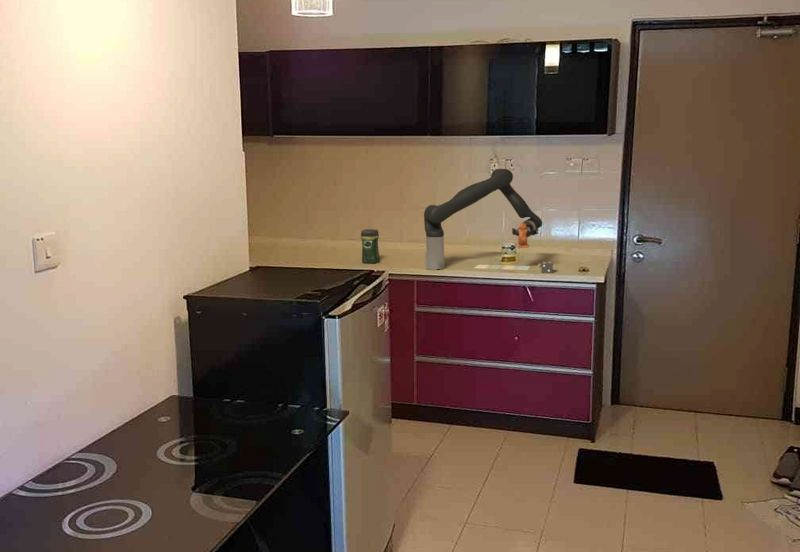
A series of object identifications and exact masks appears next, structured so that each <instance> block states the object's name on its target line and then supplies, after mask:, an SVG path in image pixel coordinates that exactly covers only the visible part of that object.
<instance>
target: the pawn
mask: <svg viewBox="0 0 800 552" xmlns="http://www.w3.org/2000/svg"><path fill="white" fill-rule="evenodd" d="M518 226H519V227H518V228H520V229H518V228H517V229H518V231H519V235H518V236H517V237H518V244H516V247H517V249H519V248H520V249H525V248H529V247H530V245H529V243H528V237H527V236H526V232H527V229H526V227H527V226H526V224H525V223H523V222H522V223H519V225H518Z"/></svg>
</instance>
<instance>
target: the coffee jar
mask: <svg viewBox="0 0 800 552" xmlns="http://www.w3.org/2000/svg"><path fill="white" fill-rule="evenodd" d="M379 236H380V235H379V230H378V229H374V228H373V229H371V228H369V229H368V228H366V229H362V230H361V232H360V239H361V243H362V244H361V245H362V249H361V251H362V253H361V262H362V263H363V264H376V263H377V264H378V263H379V262H380V261H381V258H380V257H381V256H380V252H379V243H378V242H379Z"/></svg>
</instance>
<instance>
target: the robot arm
mask: <svg viewBox="0 0 800 552" xmlns="http://www.w3.org/2000/svg"><path fill="white" fill-rule="evenodd" d="M513 179H514V174H513V172H512V171H511V170H509V169H507V168H497V169H494V170H492V172H491V176H490V177H489V178H488V179H485V180H482V181H479V182H476V183H472V184H471V185H468V186H466V187H464V188H462V189H460V191H458V192H456V194H455V195H454V196H453V197H452V198H451V199H449V200H448V201H446V202H444V203H442V204H441V203H440V204H439V205H435V204H430V205H428V206H426V208H425V209H424V212H423V219H424V221H423V224H424V231H425V238H426V239H425V241H426V244H425V245H426V246H425V247H426V250H425V254H424V255H425V257H424V258H425V270H430V271H431V270H432V271H437V269H440V270H443V269H445V233H444V232H445V231H444V229H443V227H442V223H443V222H444V221H445V220H447V219H448V218H450V217H451V216H453V215H454V214H456V213H458V212H460V211H462V210H463V209H465V208H468V207H470V206H471V205H473V204H476V203H477V202H479V201H480V200H482V199H484V198H485V197H487V196H489V195H490V194H492V193H493V192H495V191H498V190H499V191H500V192H501V193H502V194H503V196H504V197H505V198H506V200H507V201H508V203H510V205H511V207H512V208H513V210H514V211H515V212H516V214H517V216H518V217H519V218H520V219H525V218H527V219H526V220H524V221H523V222H522V223H525V224H526V226H527V227H526V229H527V232H526V236H527V238H530V237H531V236H535V235H538V234H539V228H542V225H543V221H542V219H541V218H540V216H539V215H537V214H536V213H535V212H534V211H533V210H532V209H531V208H530V206H529V205H528V204H527V202H526V201H525V199H524V198H523V197H522V196H521V195H520V194H519V193H518V192H517V191H516V190H515V189H514V188H513V186H512V185H511V183H512V182H513ZM518 229H520V228H519V227H518V228H513V227H512V228H511V234H512V235H513V236H517V237H518V235H519V231H518Z"/></svg>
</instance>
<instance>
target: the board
mask: <svg viewBox="0 0 800 552" xmlns="http://www.w3.org/2000/svg"><path fill="white" fill-rule="evenodd" d="M530 267H531V266H528V265H500V264H499V265H498V264H477V265H476V266H475V267H474V269H485V270H486V269H488V270H489V269H490V270H512V271H513V270H516V271H517V270H518V271H529V269H530Z"/></svg>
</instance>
